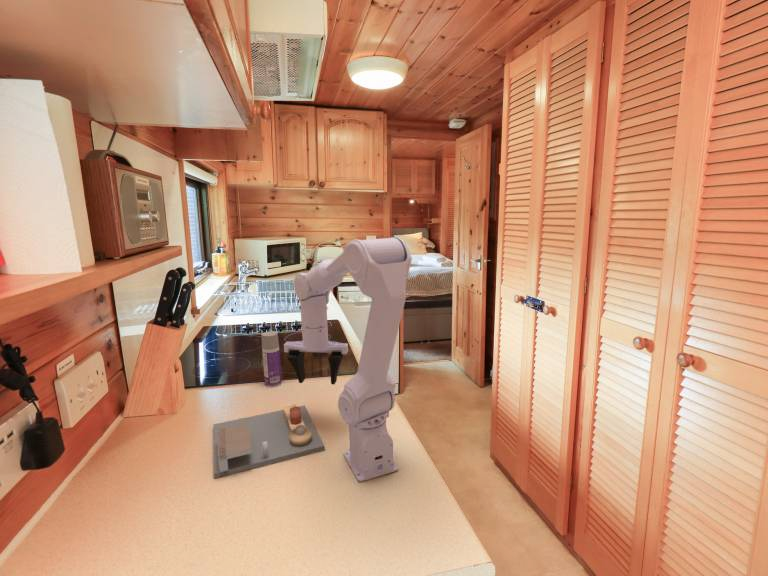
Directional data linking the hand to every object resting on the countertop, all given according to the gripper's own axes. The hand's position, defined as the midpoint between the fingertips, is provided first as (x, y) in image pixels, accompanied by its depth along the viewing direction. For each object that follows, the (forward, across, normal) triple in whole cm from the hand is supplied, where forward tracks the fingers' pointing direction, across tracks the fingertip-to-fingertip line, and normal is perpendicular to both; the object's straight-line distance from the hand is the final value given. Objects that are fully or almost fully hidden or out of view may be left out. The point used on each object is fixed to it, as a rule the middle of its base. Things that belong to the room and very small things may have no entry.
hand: (317, 381), depth 91 cm
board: (+10, +9, +8) cm, 16 cm away
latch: (+9, +4, +5) cm, 11 cm away
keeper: (+10, +12, +17) cm, 23 cm away
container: (+10, +20, -18) cm, 29 cm away
